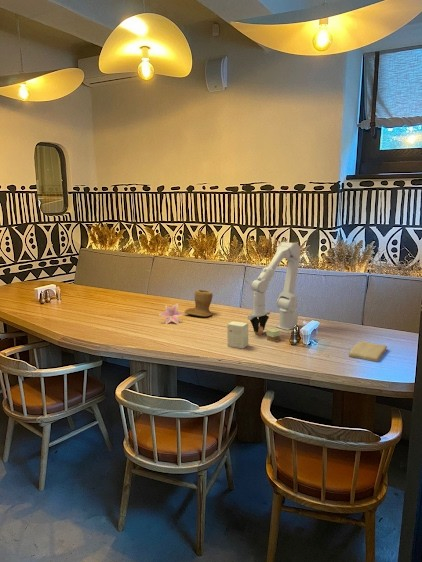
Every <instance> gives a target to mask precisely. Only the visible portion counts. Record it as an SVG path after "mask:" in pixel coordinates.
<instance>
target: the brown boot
mask: <svg viewBox="0 0 422 562" xmlns="http://www.w3.org/2000/svg"><path fill="white" fill-rule="evenodd" d="M212 300H213V292H212V291H210V290H206V289H205V290H204V289H196V290H195V292H194V304H195V305H194V306H195V307H190V308H187V309H185V310H184V311H183V314H186V315H190V316H191V315H192V316H196V317H210V316H212V315H213V312H212V311H211V310H210V306H211V303H212Z"/></svg>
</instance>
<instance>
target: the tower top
mask: <svg viewBox="0 0 422 562" xmlns="http://www.w3.org/2000/svg"><path fill="white" fill-rule="evenodd" d="M267 335H268V336H271V337H276V336H280V337H281V330H280V329H278V328H276V327H275V328H274V327H273V328H269V329H266V336H267Z"/></svg>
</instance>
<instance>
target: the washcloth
mask: <svg viewBox="0 0 422 562" xmlns="http://www.w3.org/2000/svg"><path fill="white" fill-rule="evenodd" d="M387 348H388V345H385V344H377V343H372V342H371V341H370V342H369V341H364V340H363V341H359V342H357V343H355V344H354V346H353V347H352V348H351V349H350V351H349V353H348V356H349V357H350V358H353V359H354V358H355V359H360V360H365V361H370V362H378V363H379V360H380V359H381V358H382V357H383V355H384V353H386V352H387Z"/></svg>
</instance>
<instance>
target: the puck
mask: <svg viewBox="0 0 422 562" xmlns="http://www.w3.org/2000/svg"><path fill="white" fill-rule="evenodd" d="M254 334H255V335H256V336H261V335H262V336H263V335H264V330H263V326H260V325H259V328H258V332H254Z"/></svg>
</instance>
